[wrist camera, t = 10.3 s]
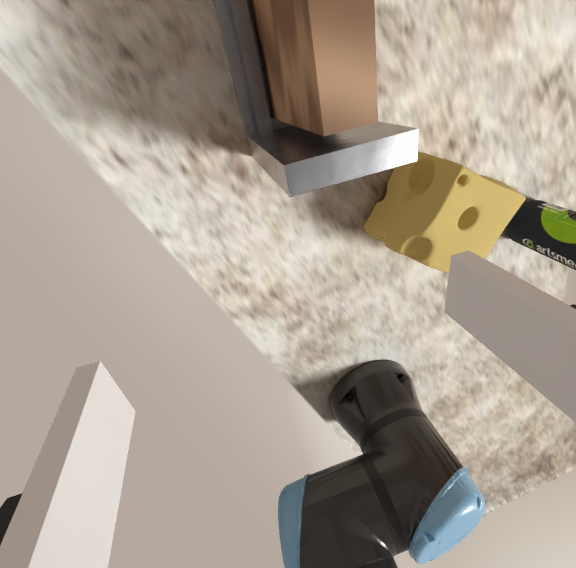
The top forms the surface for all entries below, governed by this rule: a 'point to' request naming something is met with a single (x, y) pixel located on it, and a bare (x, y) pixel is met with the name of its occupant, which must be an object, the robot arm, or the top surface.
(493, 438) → the top surface
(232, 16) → the bottom track
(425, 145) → the top surface
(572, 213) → the beverage can
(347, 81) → the door panel
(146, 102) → the top surface
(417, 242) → the cheese
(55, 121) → the top surface
